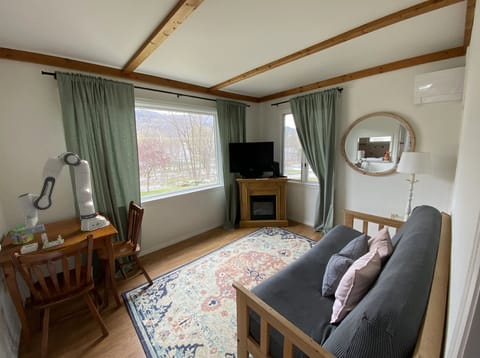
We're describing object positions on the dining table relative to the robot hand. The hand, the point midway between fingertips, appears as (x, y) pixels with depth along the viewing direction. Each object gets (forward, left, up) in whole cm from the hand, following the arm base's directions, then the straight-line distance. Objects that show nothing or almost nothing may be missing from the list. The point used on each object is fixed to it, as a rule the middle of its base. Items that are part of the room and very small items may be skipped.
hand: (34, 230), depth 164 cm
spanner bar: (0, 0, -2) cm, 2 cm away
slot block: (+3, +11, -11) cm, 16 cm away
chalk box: (+10, -11, -12) cm, 19 cm away
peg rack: (-11, +12, -11) cm, 19 cm away
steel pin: (-5, +5, -11) cm, 13 cm away
